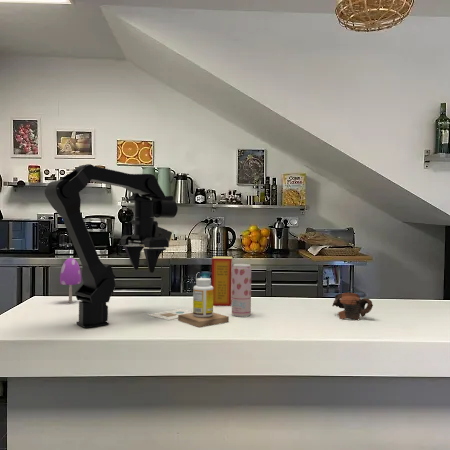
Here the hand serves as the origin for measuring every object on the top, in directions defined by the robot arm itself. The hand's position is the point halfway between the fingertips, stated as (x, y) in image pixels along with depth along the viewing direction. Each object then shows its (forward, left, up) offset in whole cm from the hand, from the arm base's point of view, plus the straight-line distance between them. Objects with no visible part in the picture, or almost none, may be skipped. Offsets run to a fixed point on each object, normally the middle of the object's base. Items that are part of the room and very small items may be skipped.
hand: (143, 271), depth 124 cm
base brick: (+10, -16, -13) cm, 23 cm away
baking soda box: (+31, +2, -13) cm, 34 cm away
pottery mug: (+49, -38, -13) cm, 63 cm away
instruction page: (+8, -4, -13) cm, 16 cm away
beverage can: (+24, -16, -13) cm, 32 cm away
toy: (-10, +32, -13) cm, 36 cm away
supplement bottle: (+10, -16, -12) cm, 22 cm away
